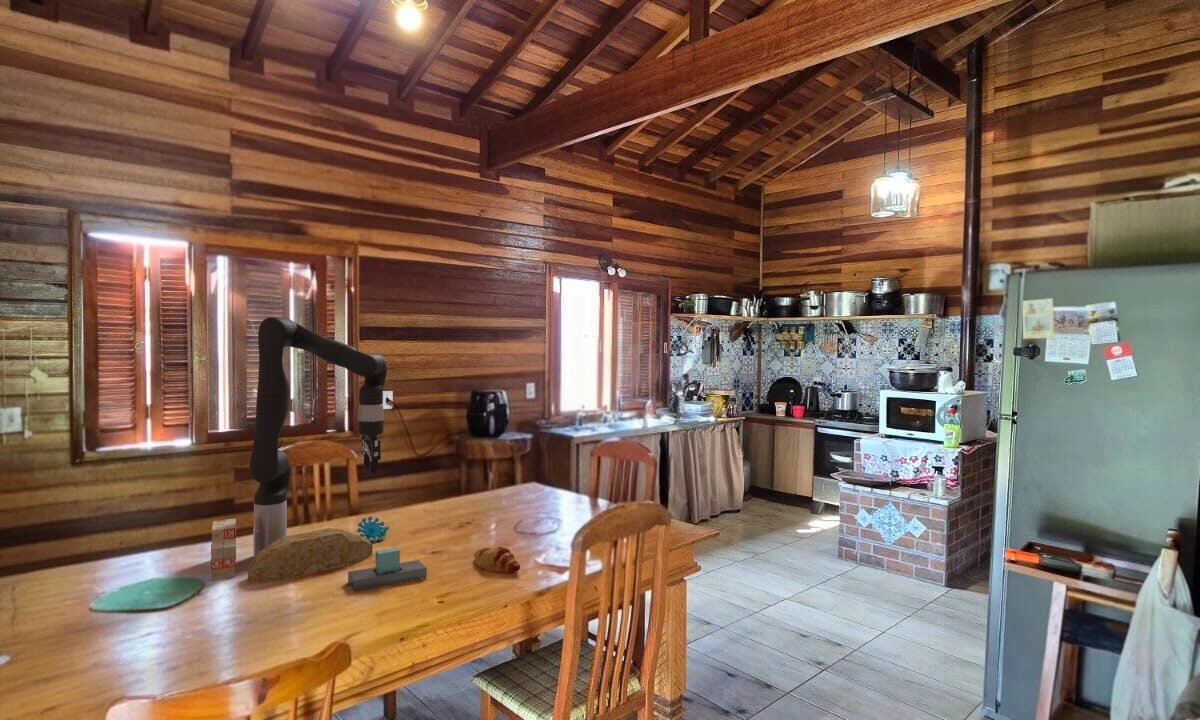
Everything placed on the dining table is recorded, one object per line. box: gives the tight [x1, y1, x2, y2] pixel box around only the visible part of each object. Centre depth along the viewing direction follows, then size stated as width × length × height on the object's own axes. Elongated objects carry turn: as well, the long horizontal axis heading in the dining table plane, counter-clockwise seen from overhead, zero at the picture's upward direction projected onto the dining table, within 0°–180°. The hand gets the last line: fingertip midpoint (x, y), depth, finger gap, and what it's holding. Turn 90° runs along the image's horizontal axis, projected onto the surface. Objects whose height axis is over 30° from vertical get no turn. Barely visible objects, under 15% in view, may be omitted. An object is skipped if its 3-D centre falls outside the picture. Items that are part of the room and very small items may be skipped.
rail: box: [347, 559, 428, 592], centre depth 190 cm, size 20×8×3 cm, turn 122°
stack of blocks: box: [210, 518, 237, 581], centre depth 199 cm, size 21×6×12 cm, turn 28°
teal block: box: [375, 547, 401, 575], centre depth 190 cm, size 6×3×8 cm, turn 122°
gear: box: [356, 516, 390, 544], centre depth 229 cm, size 11×6×10 cm
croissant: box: [473, 545, 521, 574], centre depth 203 cm, size 21×10×8 cm, turn 48°
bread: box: [247, 527, 374, 584], centre depth 201 cm, size 36×11×10 cm, turn 136°
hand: (370, 470), depth 207 cm, fingers open, 8 cm apart
